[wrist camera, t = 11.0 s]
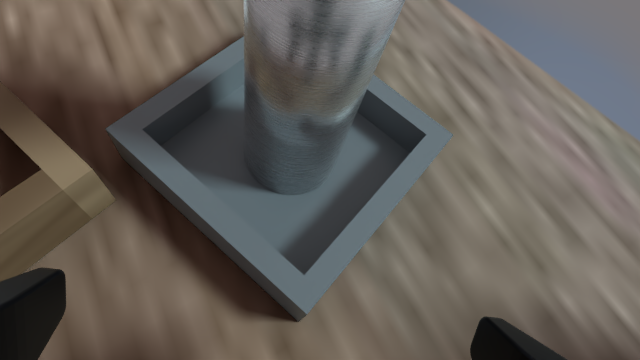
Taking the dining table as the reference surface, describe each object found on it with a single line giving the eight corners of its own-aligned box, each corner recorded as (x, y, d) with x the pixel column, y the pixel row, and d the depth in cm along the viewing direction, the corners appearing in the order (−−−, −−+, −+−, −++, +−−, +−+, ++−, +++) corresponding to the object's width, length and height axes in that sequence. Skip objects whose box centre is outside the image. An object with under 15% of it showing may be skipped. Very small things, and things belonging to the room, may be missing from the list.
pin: (363, 181, 19) (542, -110, 8) (260, 222, 17) (292, -77, 6) (314, 97, 21) (399, -242, 9) (216, 127, 19) (173, -249, 7)
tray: (431, 159, 21) (453, 135, 19) (298, 322, 16) (307, 314, 14) (281, 43, 23) (285, 8, 21) (122, 158, 18) (105, 128, 16)
